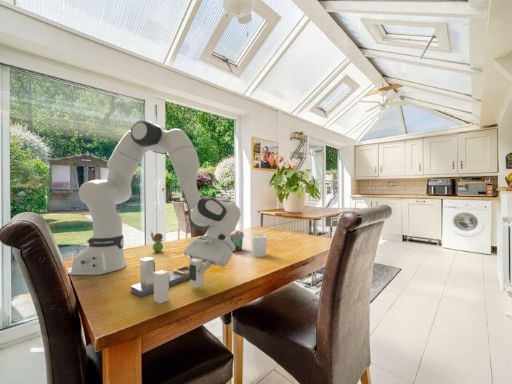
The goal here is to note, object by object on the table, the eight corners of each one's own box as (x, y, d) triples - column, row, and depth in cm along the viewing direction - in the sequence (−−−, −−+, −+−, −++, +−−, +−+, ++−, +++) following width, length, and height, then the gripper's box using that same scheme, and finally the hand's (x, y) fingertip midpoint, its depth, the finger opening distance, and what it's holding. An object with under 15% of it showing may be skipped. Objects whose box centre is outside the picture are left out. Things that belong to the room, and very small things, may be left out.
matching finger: (195, 288, 83) (195, 262, 83) (188, 285, 85) (188, 260, 85) (203, 284, 86) (203, 259, 86) (196, 282, 88) (196, 257, 88)
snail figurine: (151, 251, 137) (150, 229, 137) (163, 250, 139) (163, 229, 139) (150, 253, 132) (150, 231, 131) (163, 252, 134) (163, 230, 134)
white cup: (258, 252, 133) (258, 234, 133) (270, 255, 128) (270, 236, 128) (249, 255, 127) (248, 236, 127) (260, 258, 122) (260, 238, 122)
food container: (240, 253, 131) (240, 235, 131) (229, 253, 133) (229, 234, 132) (246, 248, 143) (246, 231, 143) (236, 247, 145) (236, 230, 145)
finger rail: (141, 297, 79) (141, 263, 79) (130, 291, 83) (130, 259, 83) (202, 274, 100) (202, 247, 100) (191, 270, 104) (191, 245, 104)
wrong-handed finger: (160, 303, 75) (160, 274, 74) (153, 300, 77) (153, 272, 76) (170, 299, 77) (170, 271, 77) (163, 296, 79) (163, 269, 79)
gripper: (192, 231, 97) (171, 261, 89) (231, 237, 85) (210, 273, 77) (201, 240, 101) (181, 270, 93) (239, 247, 89) (220, 282, 81)
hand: (195, 271), depth 85 cm, fingers closed on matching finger, 3 cm apart
